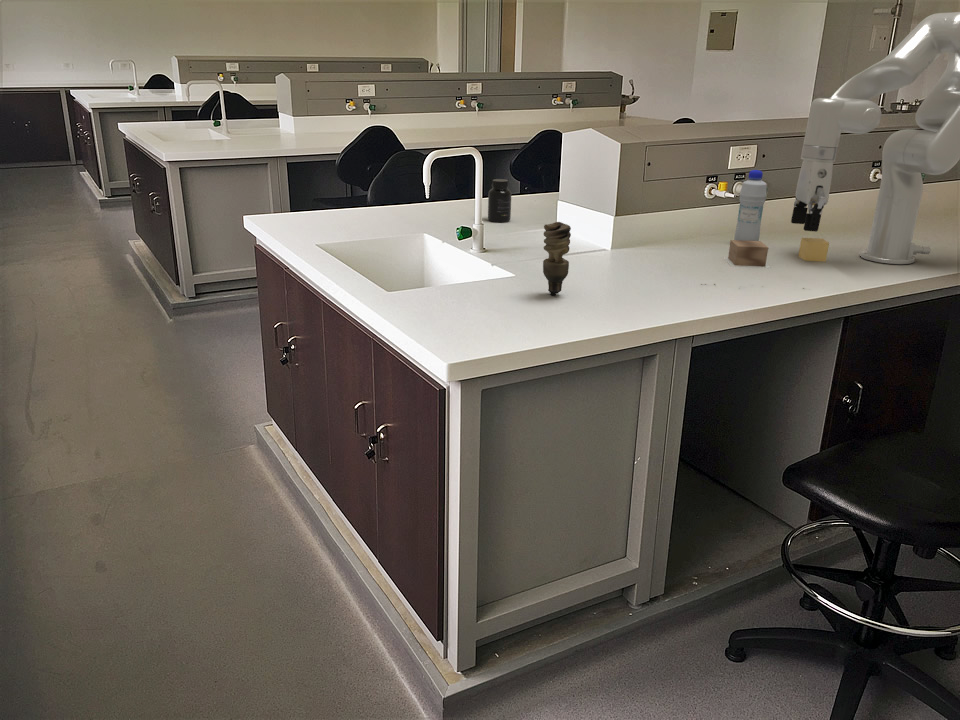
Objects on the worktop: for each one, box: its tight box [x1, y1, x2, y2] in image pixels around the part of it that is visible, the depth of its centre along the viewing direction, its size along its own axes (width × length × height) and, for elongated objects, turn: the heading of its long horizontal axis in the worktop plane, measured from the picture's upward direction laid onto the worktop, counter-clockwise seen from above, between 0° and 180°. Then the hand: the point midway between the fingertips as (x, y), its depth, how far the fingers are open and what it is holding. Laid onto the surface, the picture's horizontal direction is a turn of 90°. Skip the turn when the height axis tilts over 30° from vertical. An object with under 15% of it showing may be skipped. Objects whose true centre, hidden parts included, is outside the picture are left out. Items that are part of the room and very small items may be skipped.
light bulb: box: [542, 221, 572, 296], centre depth 159 cm, size 6×6×15 cm
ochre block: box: [798, 237, 830, 262], centre depth 192 cm, size 5×5×6 cm
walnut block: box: [728, 239, 769, 267], centre depth 186 cm, size 7×7×4 cm
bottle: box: [733, 169, 768, 241], centre depth 207 cm, size 7×7×20 cm
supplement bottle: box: [487, 178, 512, 224], centre depth 233 cm, size 7×7×12 cm
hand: (803, 227), depth 189 cm, fingers open, 9 cm apart
